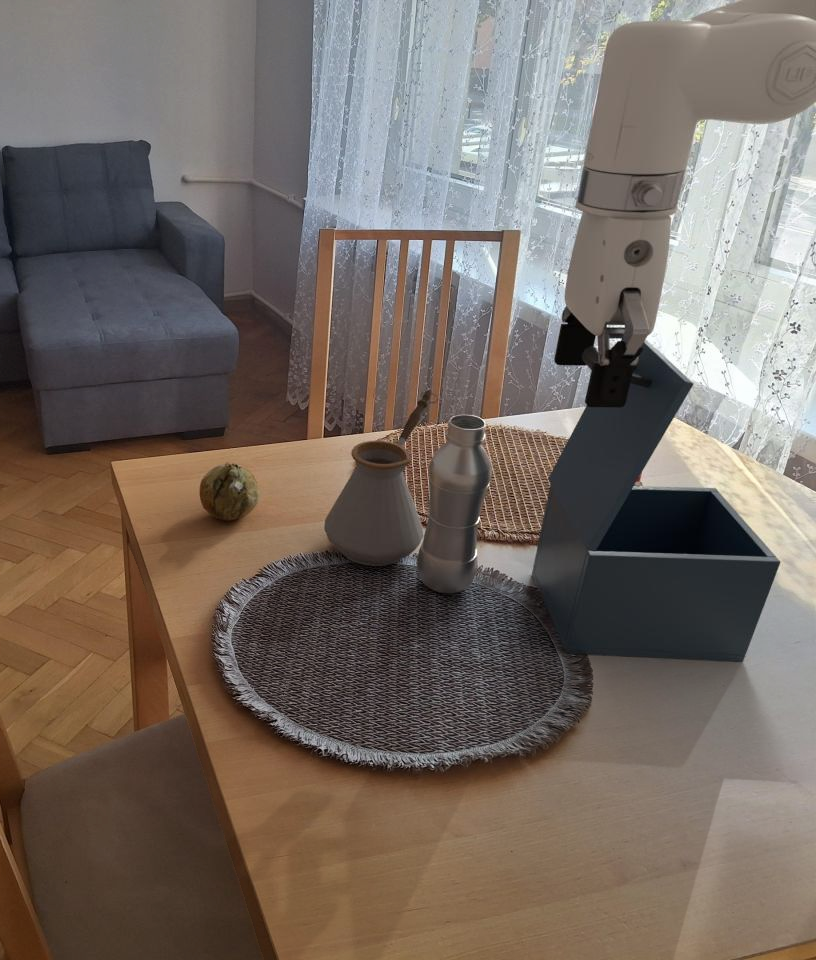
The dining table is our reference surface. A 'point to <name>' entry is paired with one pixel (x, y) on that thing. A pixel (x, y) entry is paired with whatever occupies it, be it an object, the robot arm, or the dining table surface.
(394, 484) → the coffee pot
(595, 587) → the chest
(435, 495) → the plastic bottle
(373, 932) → the dining table surface
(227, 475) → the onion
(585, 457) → the lid
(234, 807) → the dining table surface
